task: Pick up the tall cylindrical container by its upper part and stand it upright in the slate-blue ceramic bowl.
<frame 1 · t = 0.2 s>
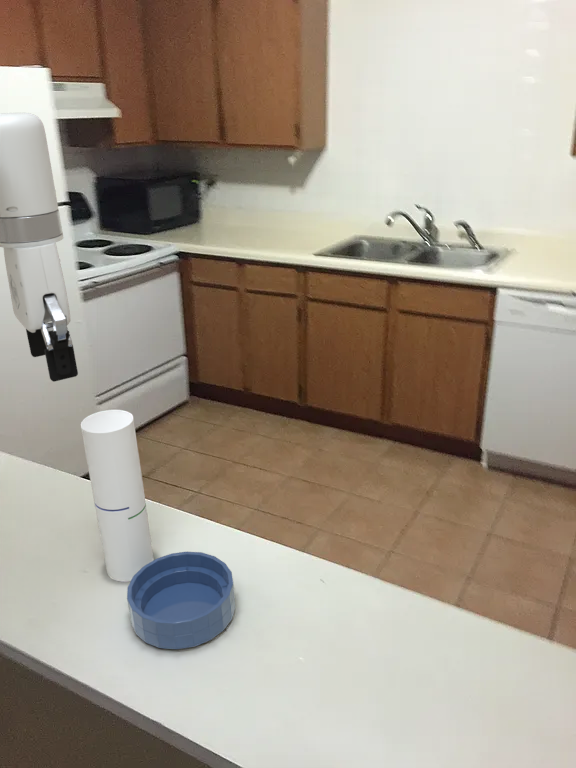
hand: (54, 365, 84), 35 cm above the countertop, tool pointing down, fingers open, 9 cm apart
bowl: (183, 613, 93), on the countertop
cylindrical container: (130, 567, 103), on the countertop
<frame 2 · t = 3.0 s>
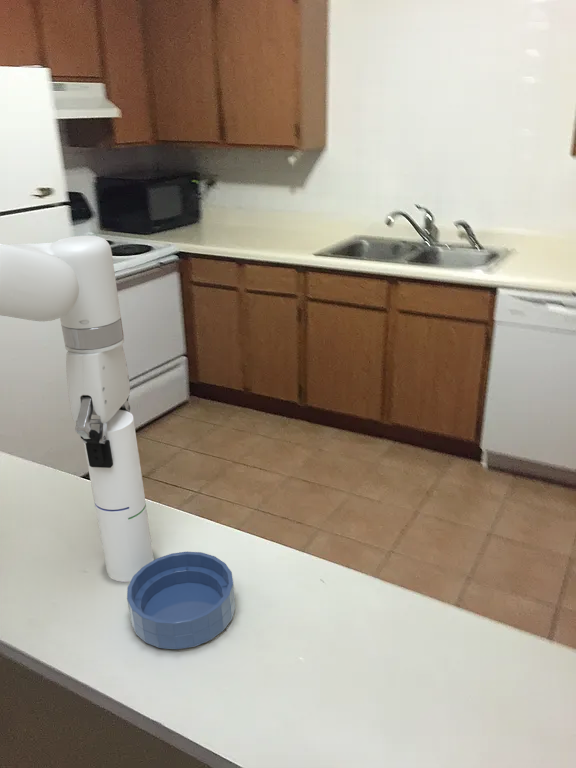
hand: (112, 451, 94), 20 cm above the countertop, tool pointing down, fingers closed on cylindrical container, 7 cm apart
cylindrical container: (130, 567, 103), on the countertop, touching gripper
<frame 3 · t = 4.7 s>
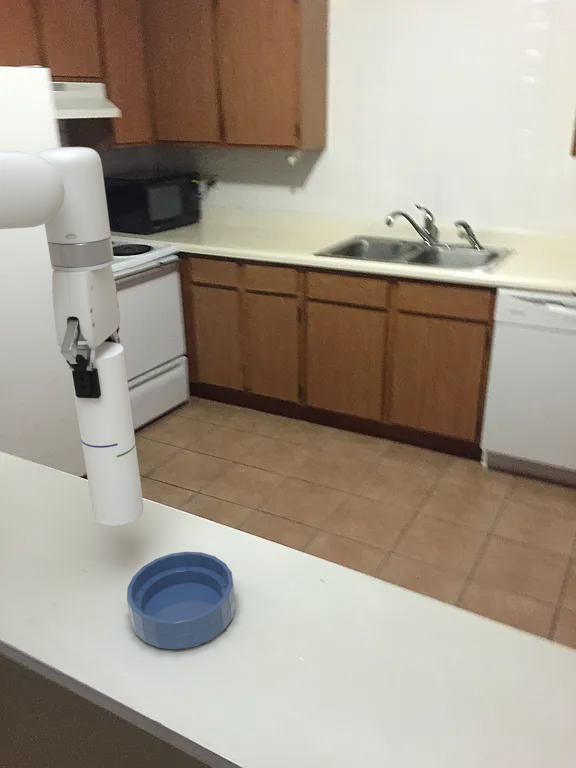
hand: (100, 384, 89), 31 cm above the countertop, tool pointing down, fingers closed on cylindrical container, 7 cm apart
cylindrical container: (119, 512, 98), point 10 cm above the countertop, touching gripper
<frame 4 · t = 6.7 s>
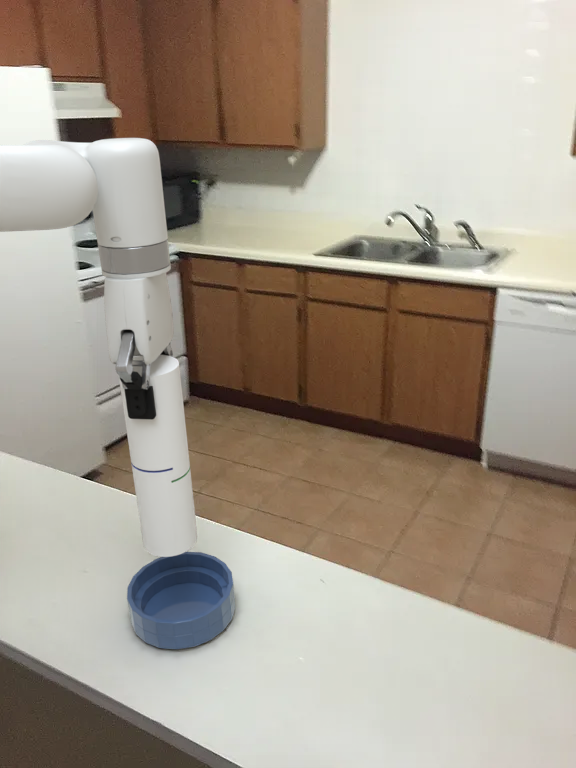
hand: (153, 402, 81), 32 cm above the countertop, tool pointing down, fingers closed on cylindrical container, 7 cm apart
cylindrical container: (170, 540, 89), point 12 cm above the countertop, touching gripper
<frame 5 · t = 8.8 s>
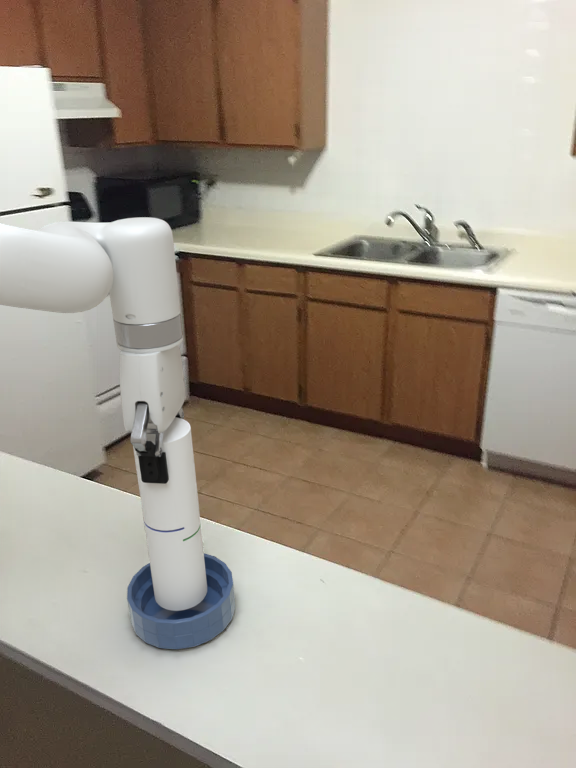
hand: (165, 464, 83), 24 cm above the countertop, tool pointing down, fingers closed on cylindrical container, 7 cm apart
cylindrical container: (181, 593, 91), point 4 cm above the countertop, touching gripper
when the fingers open (21 cm above the countertop, at t = 10.4 s): cylindrical container stays where it is, resting on bowl.
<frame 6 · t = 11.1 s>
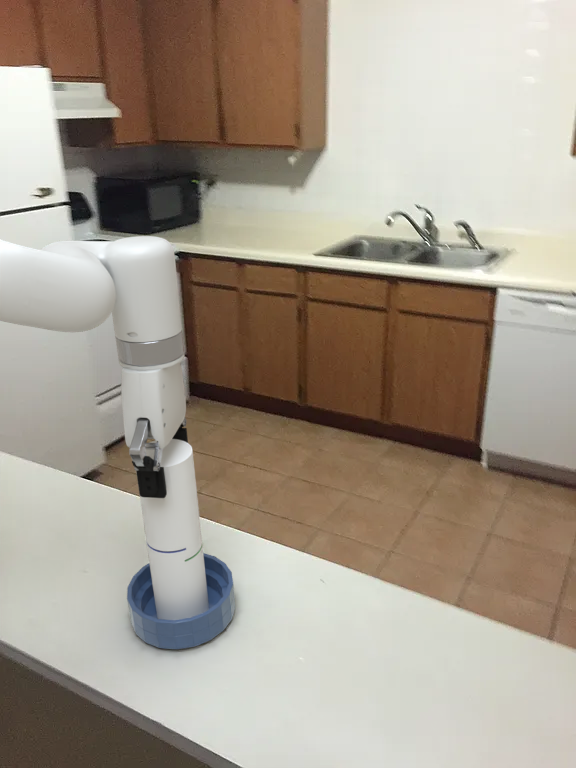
hand: (165, 474, 84), 22 cm above the countertop, tool pointing down, fingers open, 9 cm apart
cylindrical container: (183, 611, 93), resting on bowl
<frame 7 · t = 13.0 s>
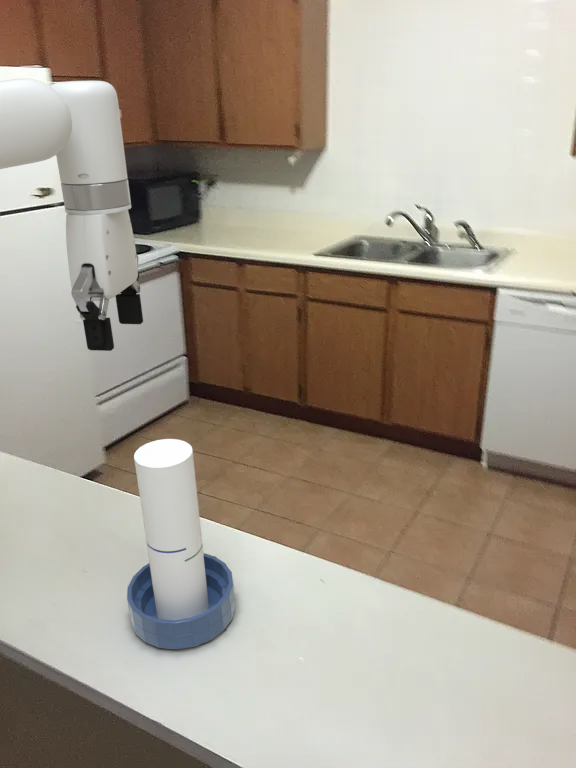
hand: (117, 335, 85), 38 cm above the countertop, tool pointing down, fingers open, 9 cm apart
nothing on the countertop moved.
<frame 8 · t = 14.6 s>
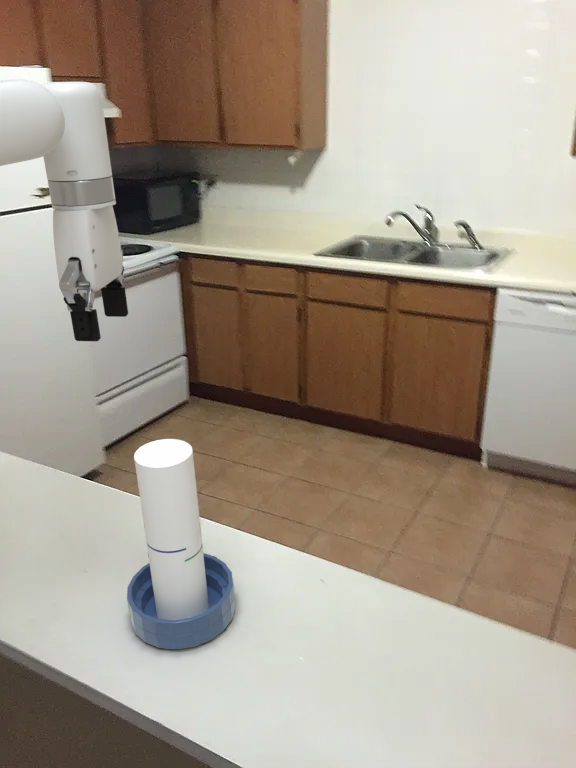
hand: (103, 327, 88), 38 cm above the countertop, tool pointing down, fingers open, 9 cm apart
nothing on the countertop moved.
at the end: cylindrical container 0.1 cm off-centre in the bowl, point 0.4 cm above the bowl's base; cylindrical container tilted 0° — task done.
